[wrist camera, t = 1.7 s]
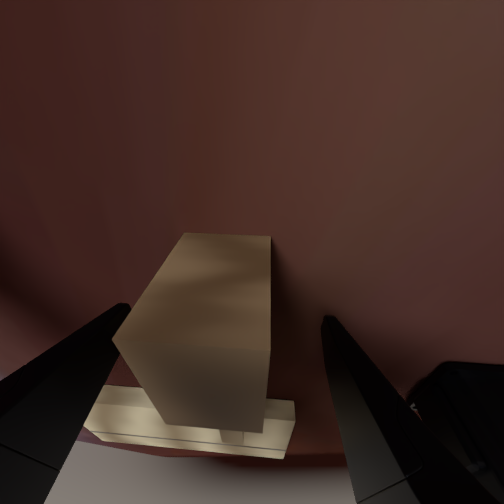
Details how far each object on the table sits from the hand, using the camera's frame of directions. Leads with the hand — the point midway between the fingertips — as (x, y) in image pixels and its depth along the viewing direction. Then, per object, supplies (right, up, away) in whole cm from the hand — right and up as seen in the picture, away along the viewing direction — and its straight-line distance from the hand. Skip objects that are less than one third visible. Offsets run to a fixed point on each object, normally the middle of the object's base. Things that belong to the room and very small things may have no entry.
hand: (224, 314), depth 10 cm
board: (-6, -15, +13) cm, 21 cm away
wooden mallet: (0, -3, +5) cm, 5 cm away
